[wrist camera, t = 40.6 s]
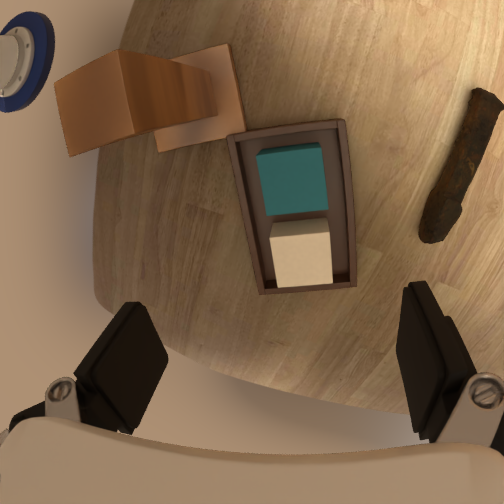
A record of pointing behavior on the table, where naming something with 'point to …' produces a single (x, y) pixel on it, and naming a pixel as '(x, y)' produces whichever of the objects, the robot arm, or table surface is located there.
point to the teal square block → (292, 179)
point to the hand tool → (460, 167)
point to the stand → (151, 99)
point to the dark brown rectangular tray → (338, 214)
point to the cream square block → (301, 252)
